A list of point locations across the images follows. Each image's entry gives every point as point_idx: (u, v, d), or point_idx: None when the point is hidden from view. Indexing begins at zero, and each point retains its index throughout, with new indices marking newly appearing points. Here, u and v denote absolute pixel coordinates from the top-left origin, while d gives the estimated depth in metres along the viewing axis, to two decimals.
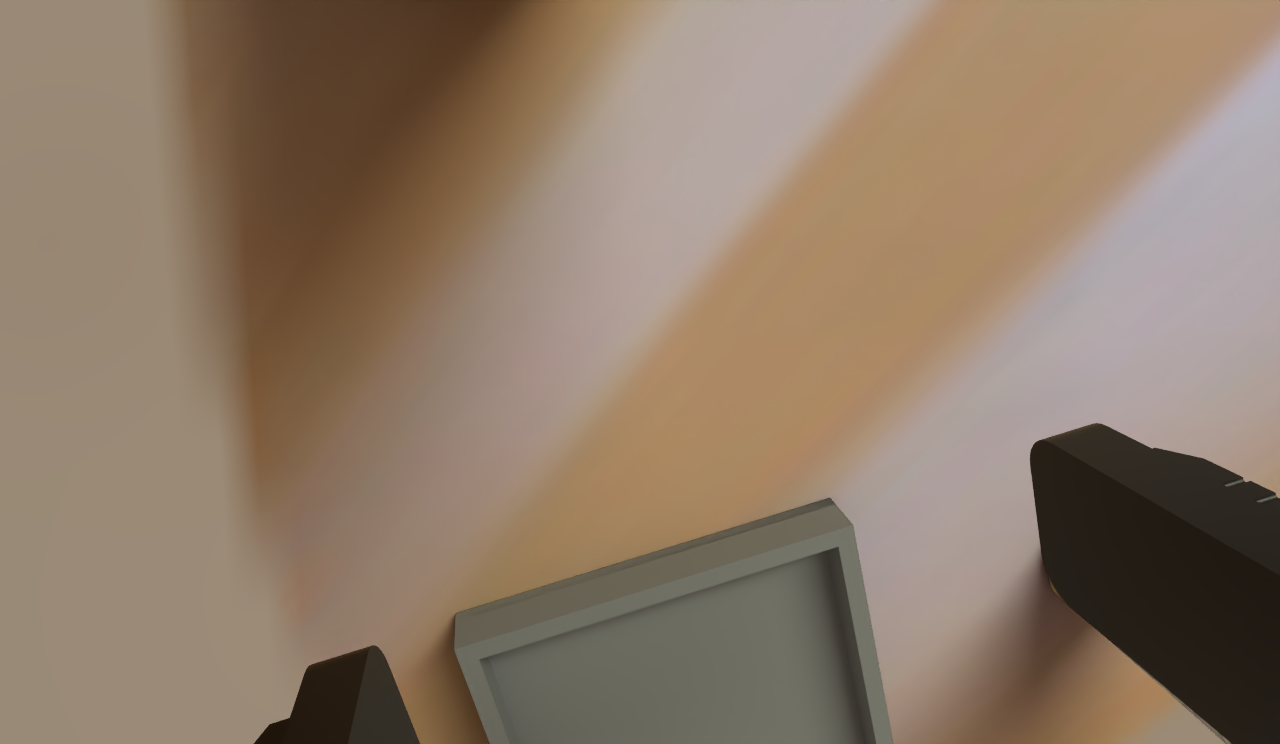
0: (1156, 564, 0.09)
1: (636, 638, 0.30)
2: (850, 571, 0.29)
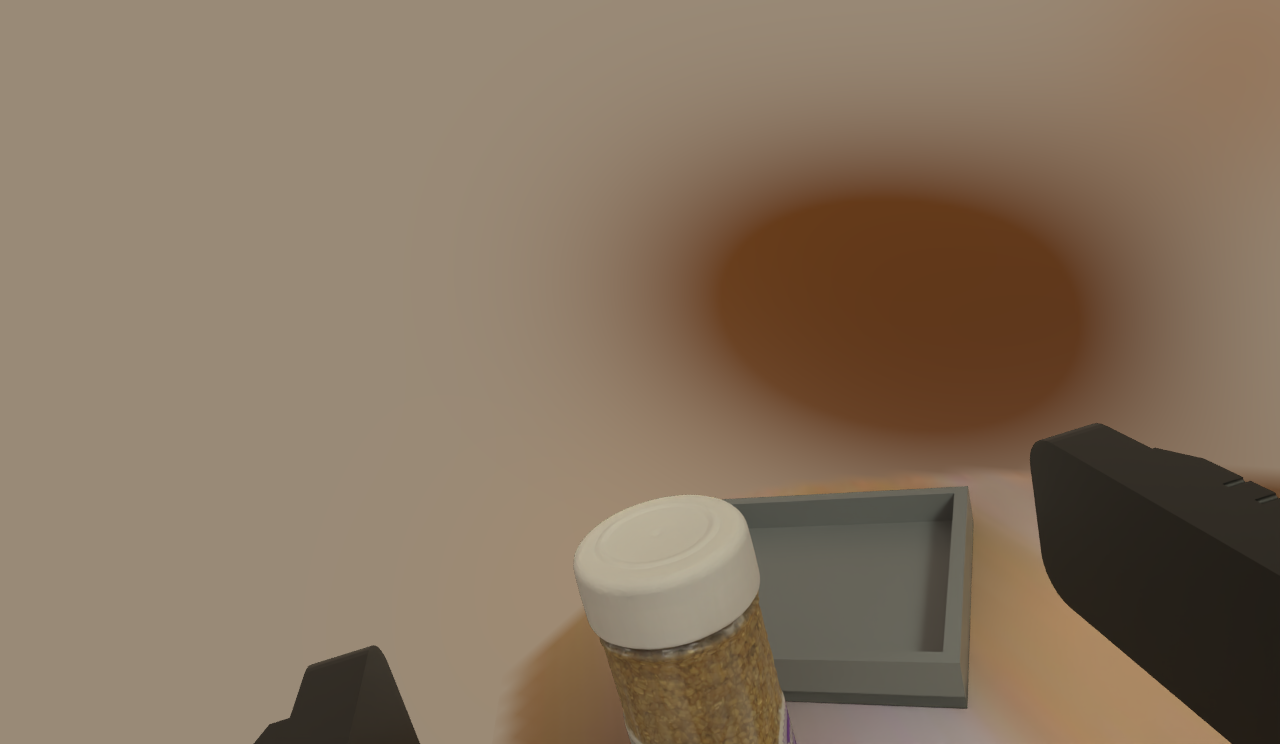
0: (1156, 564, 0.09)
1: (905, 578, 0.40)
2: (913, 655, 0.33)
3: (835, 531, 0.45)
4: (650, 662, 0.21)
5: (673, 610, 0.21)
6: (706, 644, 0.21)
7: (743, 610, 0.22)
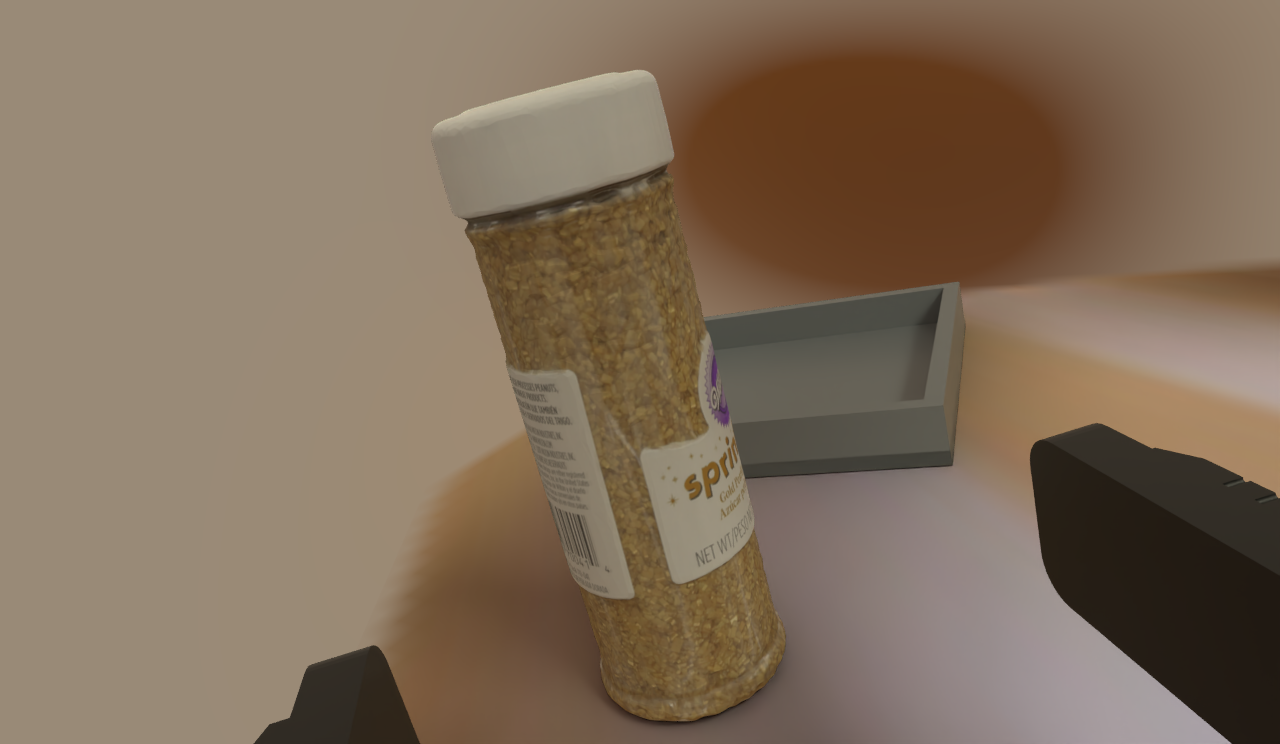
0: (1156, 563, 0.09)
1: (886, 368, 0.35)
2: (888, 405, 0.28)
3: (809, 342, 0.40)
4: (521, 231, 0.16)
5: (545, 143, 0.16)
6: (593, 204, 0.16)
7: (645, 166, 0.16)
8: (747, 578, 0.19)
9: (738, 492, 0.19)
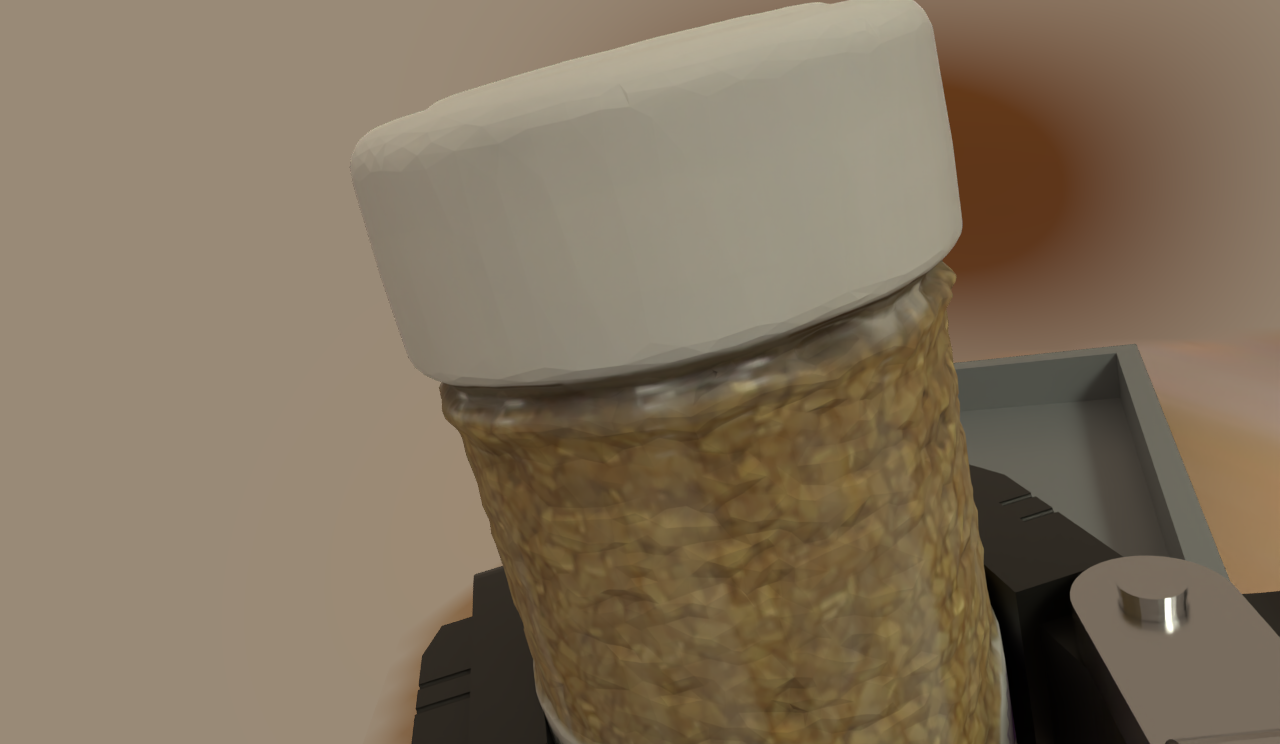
0: None
1: (1055, 475, 0.24)
2: None
3: None
4: (591, 437, 0.06)
5: (677, 196, 0.05)
6: (801, 367, 0.06)
7: (932, 256, 0.06)
8: None
9: None
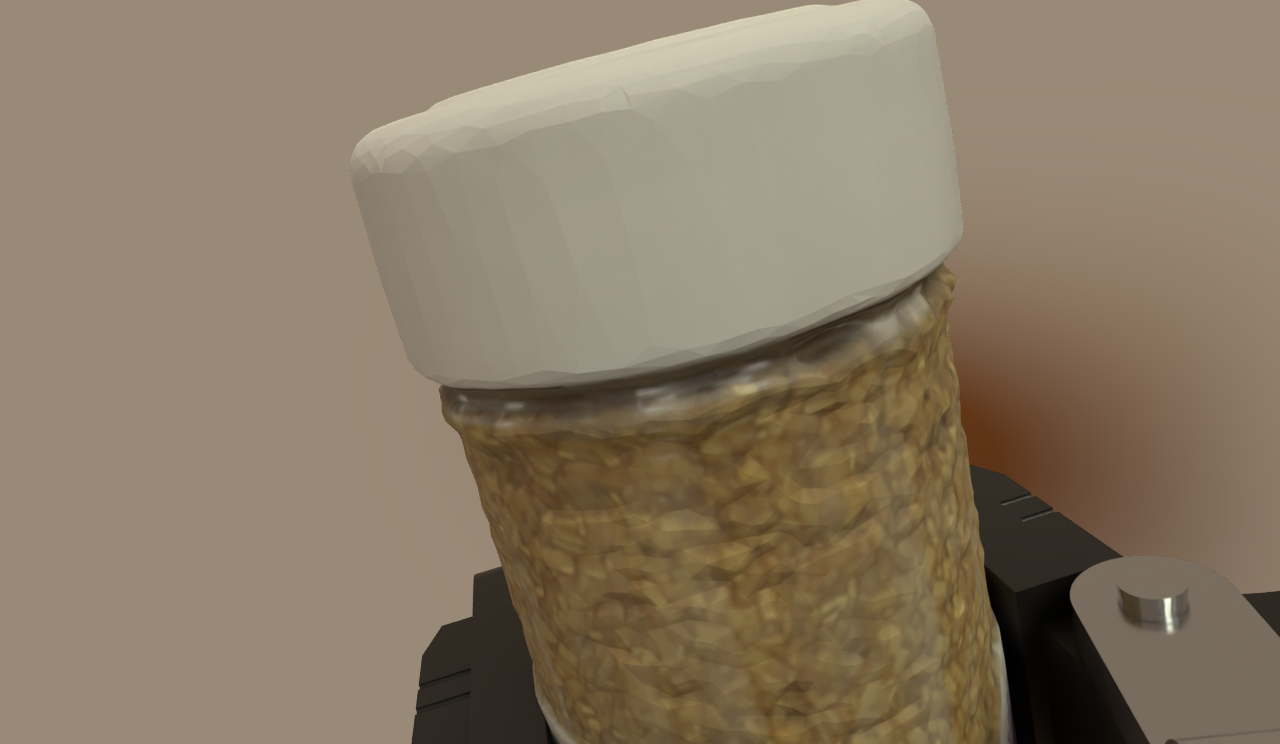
0: None
1: None
2: None
3: None
4: (591, 440, 0.06)
5: (678, 198, 0.05)
6: (801, 368, 0.06)
7: (934, 259, 0.06)
8: None
9: None
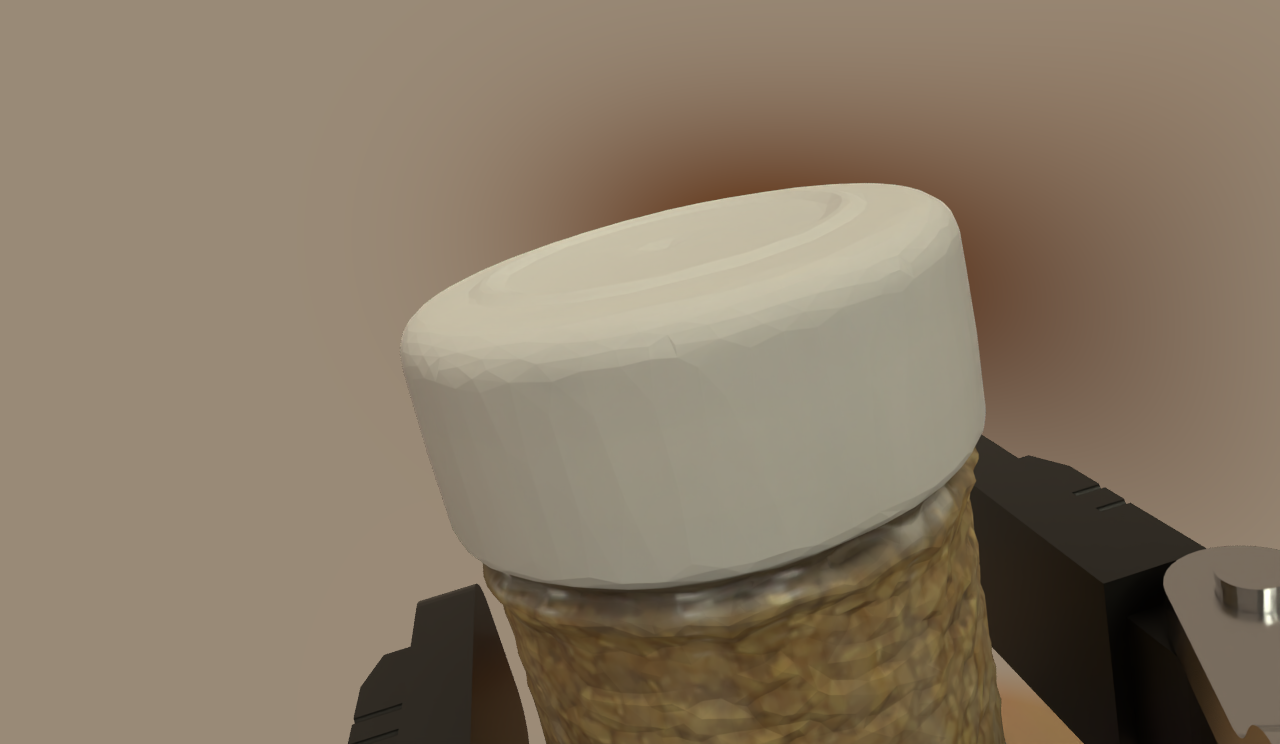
0: (1010, 566, 0.09)
1: None
2: None
3: None
4: (632, 637, 0.06)
5: (720, 437, 0.05)
6: (833, 577, 0.06)
7: (959, 463, 0.06)
8: None
9: None
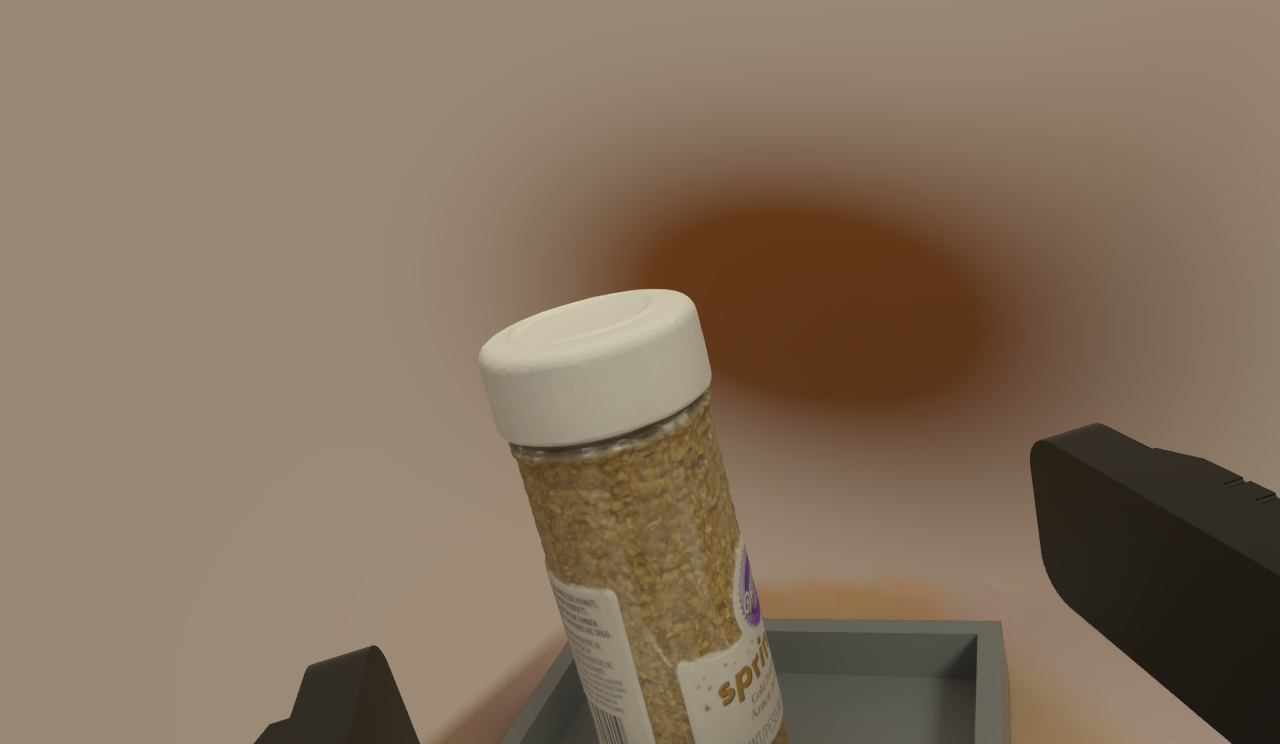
0: (1156, 564, 0.09)
1: None
2: None
3: None
4: (566, 464, 0.17)
5: (592, 390, 0.16)
6: (636, 441, 0.17)
7: (686, 402, 0.17)
8: None
9: (769, 688, 0.20)
